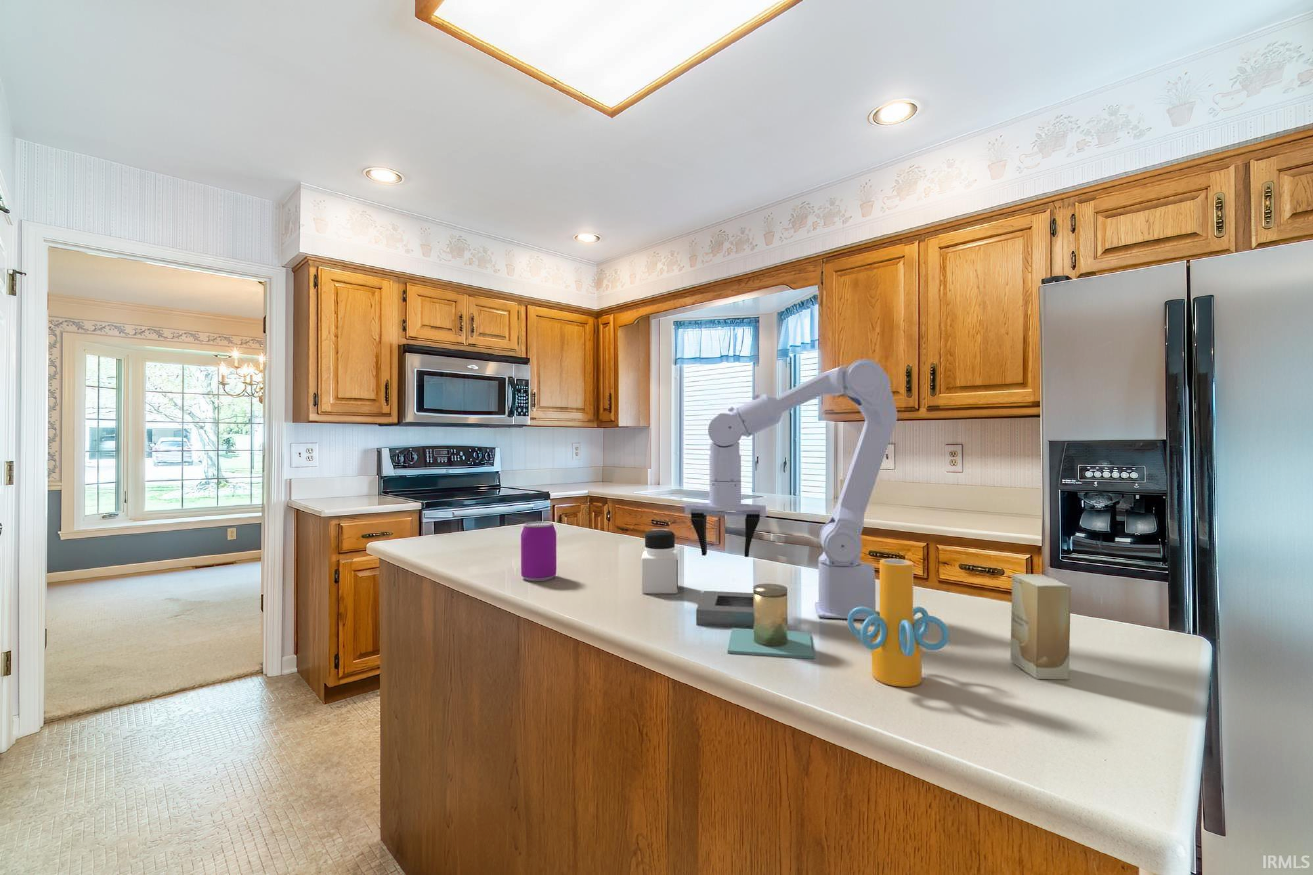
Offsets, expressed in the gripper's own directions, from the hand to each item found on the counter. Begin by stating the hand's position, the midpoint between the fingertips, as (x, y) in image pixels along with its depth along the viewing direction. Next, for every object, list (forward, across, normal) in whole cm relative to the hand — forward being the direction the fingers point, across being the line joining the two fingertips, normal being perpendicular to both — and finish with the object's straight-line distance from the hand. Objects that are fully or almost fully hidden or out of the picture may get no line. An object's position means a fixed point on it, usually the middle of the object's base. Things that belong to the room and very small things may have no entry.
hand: (725, 555), depth 109 cm
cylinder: (+10, -24, +28) cm, 38 cm away
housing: (+9, -2, +5) cm, 11 cm away
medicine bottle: (+10, +14, -10) cm, 20 cm away
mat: (+9, -8, +18) cm, 22 cm away
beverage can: (+10, +42, -15) cm, 46 cm away
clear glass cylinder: (+9, -8, +18) cm, 22 cm away
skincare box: (+10, -43, +22) cm, 49 cm away
